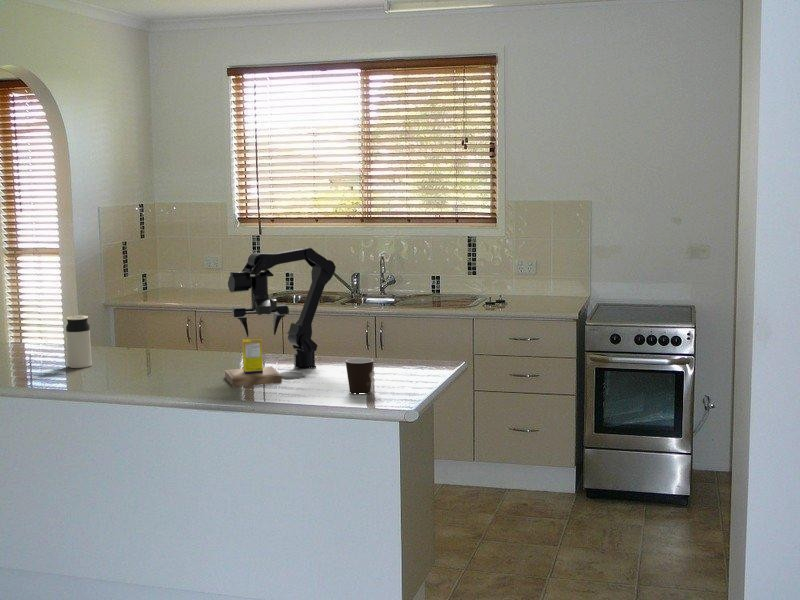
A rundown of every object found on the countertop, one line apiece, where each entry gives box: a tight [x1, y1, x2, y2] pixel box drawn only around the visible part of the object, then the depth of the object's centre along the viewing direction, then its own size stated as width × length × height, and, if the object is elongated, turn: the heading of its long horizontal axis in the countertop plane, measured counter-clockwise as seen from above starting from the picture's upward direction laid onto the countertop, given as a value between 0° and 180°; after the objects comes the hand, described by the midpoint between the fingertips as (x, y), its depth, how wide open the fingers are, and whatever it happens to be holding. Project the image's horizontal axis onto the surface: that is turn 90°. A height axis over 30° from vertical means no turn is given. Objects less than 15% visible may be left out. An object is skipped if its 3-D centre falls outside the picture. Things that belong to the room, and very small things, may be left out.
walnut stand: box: [224, 366, 283, 388], centre depth 316 cm, size 16×16×3 cm
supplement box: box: [241, 337, 264, 374], centre depth 315 cm, size 6×6×11 cm
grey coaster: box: [279, 371, 305, 380], centre depth 321 cm, size 9×9×1 cm
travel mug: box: [65, 315, 93, 369], centre depth 343 cm, size 8×8×18 cm
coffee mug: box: [345, 357, 374, 395], centre depth 297 cm, size 12×9×10 cm
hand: (261, 335), depth 326 cm, fingers open, 9 cm apart
